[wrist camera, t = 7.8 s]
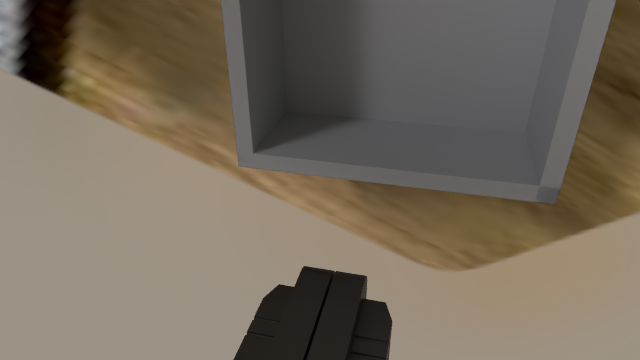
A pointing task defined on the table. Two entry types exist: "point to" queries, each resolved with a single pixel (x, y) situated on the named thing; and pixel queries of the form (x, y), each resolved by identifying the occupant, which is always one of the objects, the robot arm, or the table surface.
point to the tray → (414, 89)
